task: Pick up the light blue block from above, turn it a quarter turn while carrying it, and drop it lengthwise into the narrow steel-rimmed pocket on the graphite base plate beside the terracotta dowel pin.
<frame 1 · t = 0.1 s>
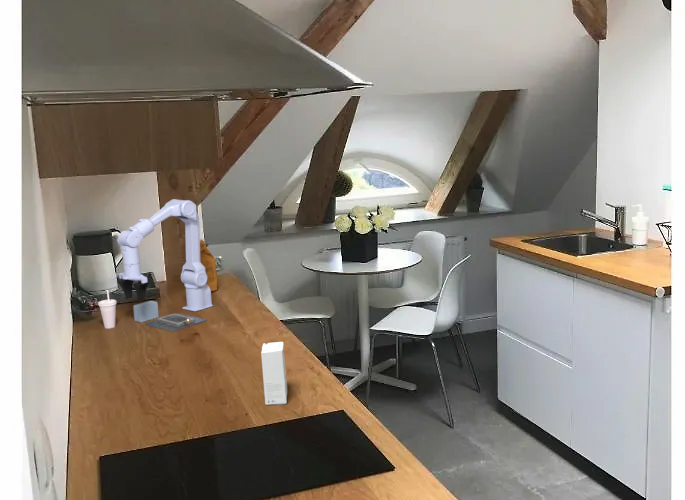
hand: (135, 299, 255), 10 cm above the kitchen counter, tool pointing down, fingers open, 7 cm apart
pocket plate: (176, 322, 258), on the kitchen counter
coffee package: (206, 290, 305), on the kitchen counter
smoothie: (110, 327, 256), on the kitchen counter
skincare box: (276, 399, 187), on the kitchen counter
light blue block: (146, 319, 265), on the kitchen counter
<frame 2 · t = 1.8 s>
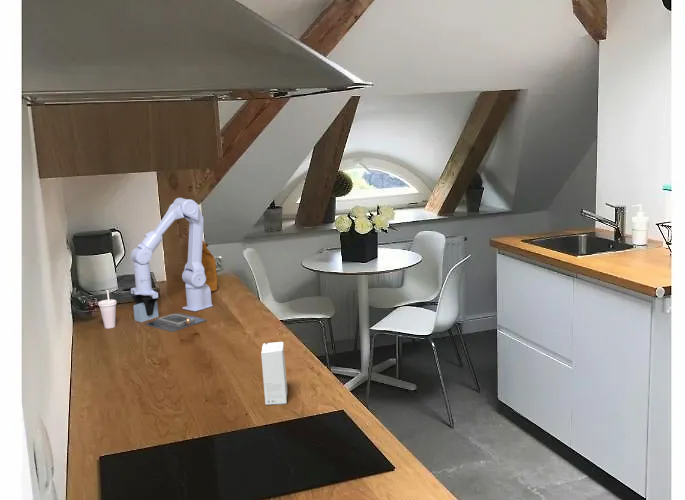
hand: (146, 313, 265), 2 cm above the kitchen counter, tool pointing down, fingers closed on light blue block, 4 cm apart
light blue block: (146, 318, 265), on the kitchen counter, touching gripper
everything else where it was.
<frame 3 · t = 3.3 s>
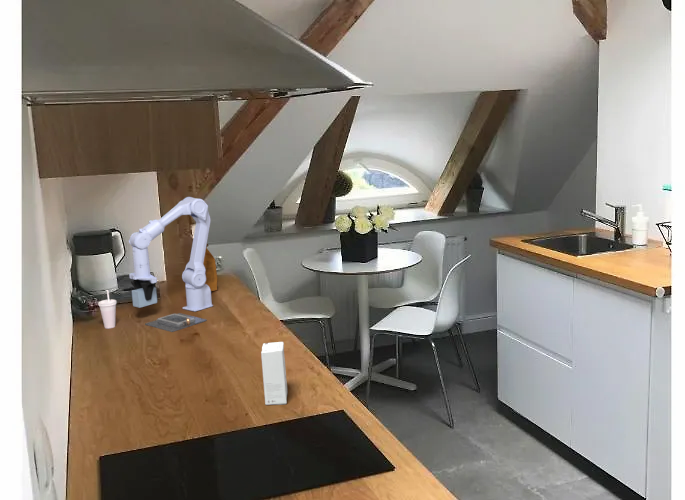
hand: (145, 299, 263), 8 cm above the kitchen counter, tool pointing down, fingers closed on light blue block, 4 cm apart
light blue block: (145, 304, 264), point 6 cm above the kitchen counter, touching gripper
everything else where it was.
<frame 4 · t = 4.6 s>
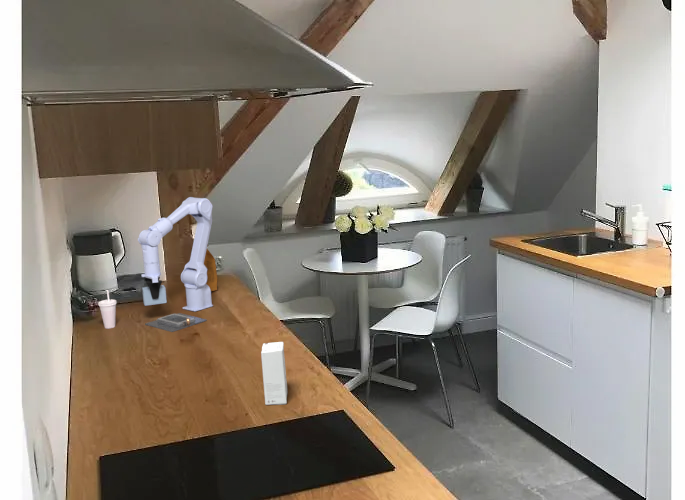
hand: (154, 297, 261), 9 cm above the kitchen counter, tool pointing down, fingers closed on light blue block, 4 cm apart
light blue block: (155, 302, 261), point 7 cm above the kitchen counter, touching gripper
everything else where it was.
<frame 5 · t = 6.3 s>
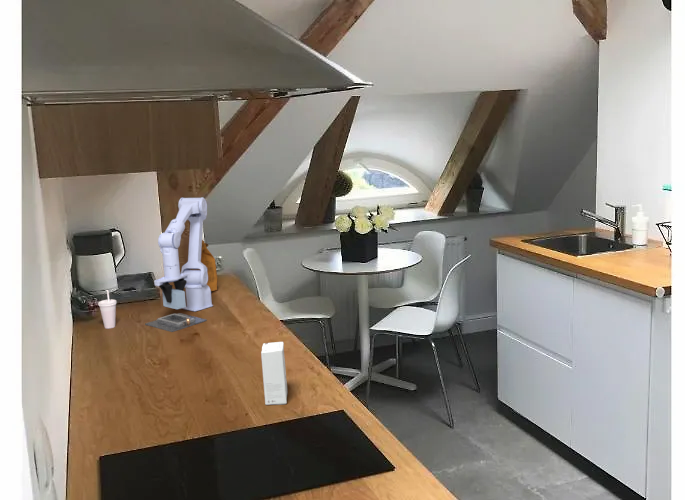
hand: (174, 300, 257), 8 cm above the kitchen counter, tool pointing down, fingers closed on light blue block, 4 cm apart
light blue block: (174, 306, 257), point 6 cm above the kitchen counter, touching gripper
everything else where it was.
when the fingers open (4 cm above the kitchen counter, at t = 7.6 s): light blue block drops 1 cm, resting on pocket plate.
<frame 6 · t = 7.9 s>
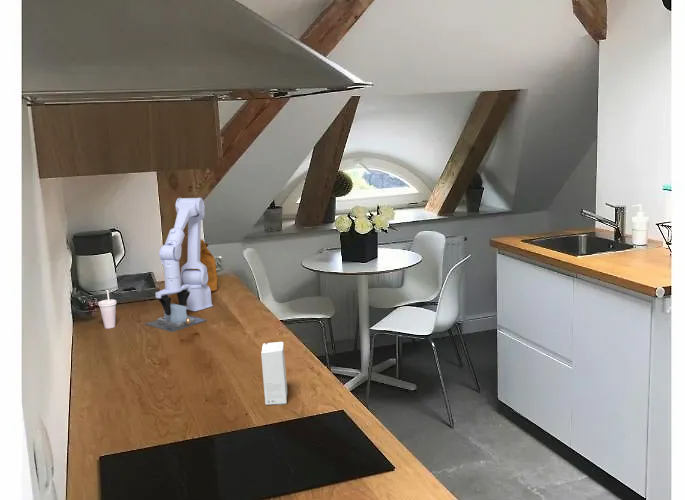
hand: (175, 312, 258), 4 cm above the kitchen counter, tool pointing down, fingers open, 6 cm apart
light blue block: (175, 321, 258), resting on pocket plate
everything else where it was.
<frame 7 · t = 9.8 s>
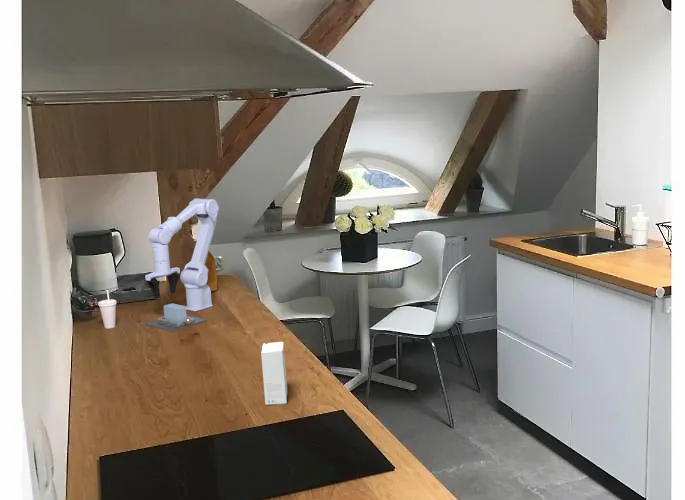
hand: (164, 295, 263), 9 cm above the kitchen counter, tool pointing down, fingers open, 7 cm apart
nothing on the kitchen counter moved.
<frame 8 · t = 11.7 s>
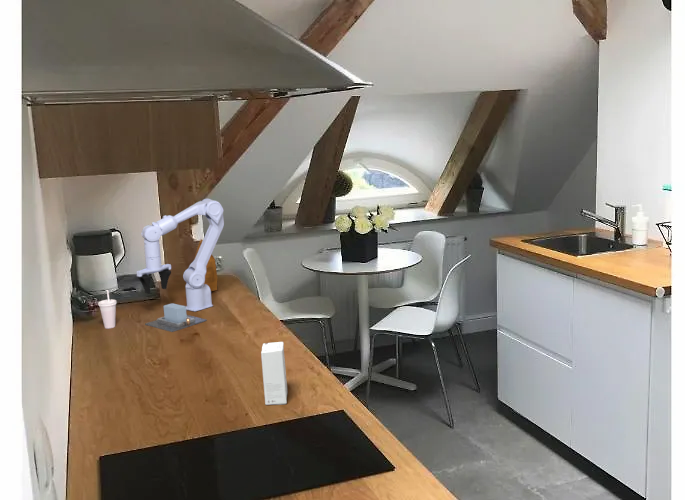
hand: (156, 291, 268), 9 cm above the kitchen counter, tool pointing down, fingers open, 7 cm apart
nothing on the kitchen counter moved.
at the end: light blue block 0.1 cm off-centre on the pocket plate, point 0.4 cm above the pocket plate's base; light blue block tilted 0°; the gripper is holding nothing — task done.
